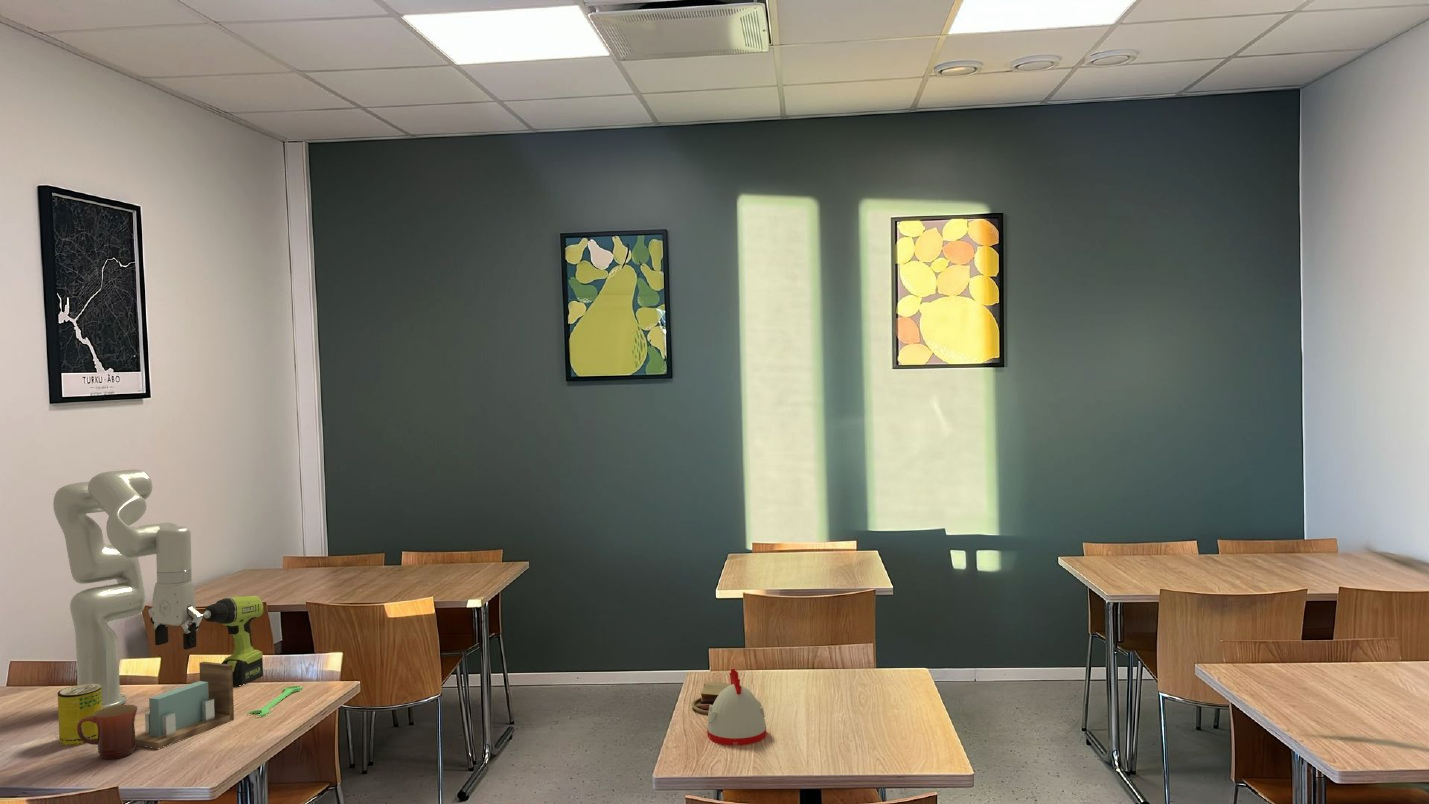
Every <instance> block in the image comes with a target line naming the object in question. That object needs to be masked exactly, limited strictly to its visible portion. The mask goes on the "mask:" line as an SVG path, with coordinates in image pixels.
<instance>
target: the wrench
mask: <svg viewBox="0 0 1429 804" xmlns="http://www.w3.org/2000/svg"><path fill="white" fill-rule="evenodd" d="M297 687H298V688H297ZM303 688H304V687H303V686H301V685H295V686H293V685H292V686H288V687H287V686H286V687H284V688H282V689H283V691H284V692H281V693H280V694H279V695H278V696H277V697H275V698H274V699H272V700H271V701H270V702H268V703H267V704H266V705H264V706H263V707H262V708H258V709H254V710H251V711H249V712H248V713H247V714H246V715H248V714H252V713H260V714H255V718H256V716H265V715H266V714H269V713H270V714H271V711H270V710H271V709H272V708H274V707H275V706H277V705H278V704H279V703H280V702H282V701H283V700H284V699H286V698H287V697H288V696H289V695H291V694H292V693H298V692H301V691H303V690H302V689H303ZM300 690H301V691H300ZM297 691H298V692H297ZM286 696H287V697H286ZM285 697H286V698H285ZM282 699H283V700H282ZM281 700H282V701H281ZM278 702H279V703H278ZM277 703H278V704H277ZM274 705H275V706H274ZM273 706H274V707H273ZM271 707H272V708H271ZM269 708H271V709H270V710H269ZM270 714H269V715H270ZM252 715H253V714H252ZM265 717H266V716H265Z"/></svg>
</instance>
